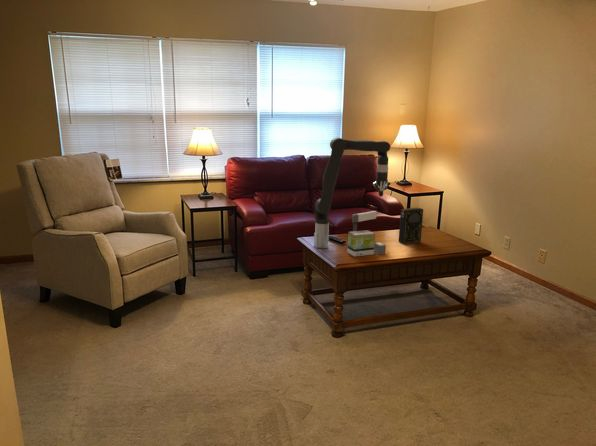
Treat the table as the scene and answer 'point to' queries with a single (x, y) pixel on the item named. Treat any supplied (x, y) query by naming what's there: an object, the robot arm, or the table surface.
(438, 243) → the table surface
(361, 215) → the bar
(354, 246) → the tea box
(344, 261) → the table surface
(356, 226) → the arm post
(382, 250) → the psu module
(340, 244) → the table surface
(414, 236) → the dark grey tall block
